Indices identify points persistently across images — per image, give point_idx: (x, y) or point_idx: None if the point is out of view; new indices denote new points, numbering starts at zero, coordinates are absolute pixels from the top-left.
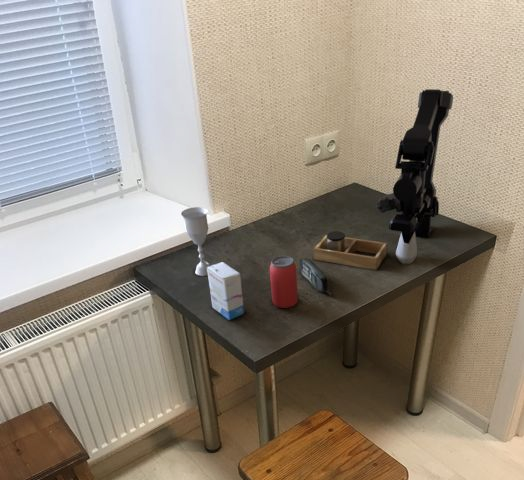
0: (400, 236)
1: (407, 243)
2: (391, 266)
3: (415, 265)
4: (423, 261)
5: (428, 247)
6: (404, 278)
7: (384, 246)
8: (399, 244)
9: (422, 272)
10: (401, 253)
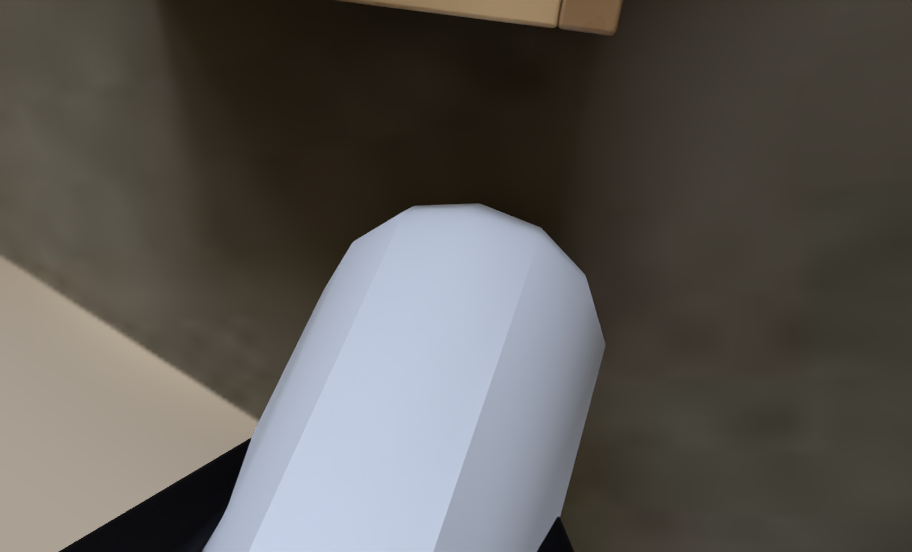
0: (302, 428)
1: None
2: (296, 147)
3: None
4: None
5: (814, 493)
6: (130, 296)
7: (454, 5)
8: (329, 326)
9: None
10: (318, 306)
